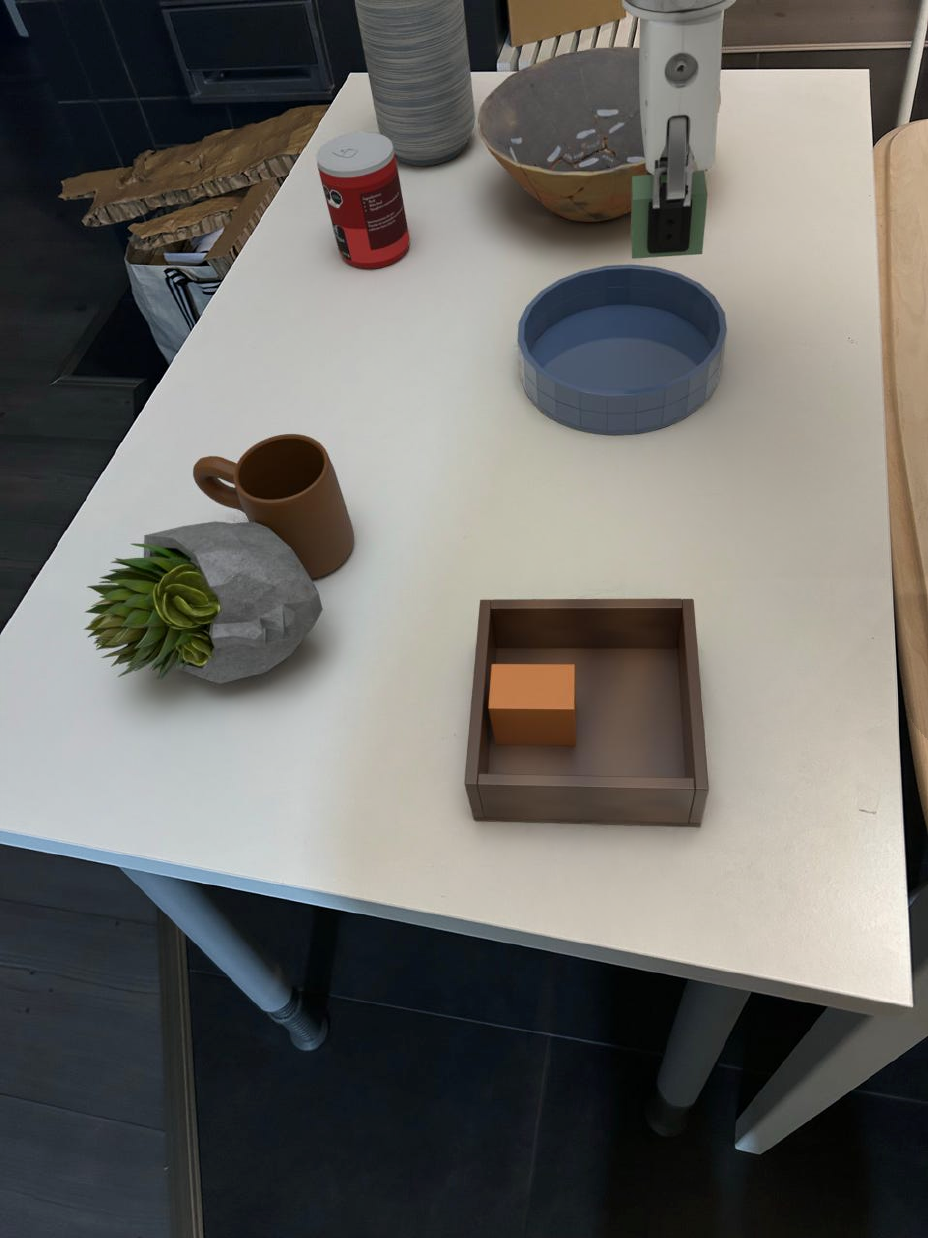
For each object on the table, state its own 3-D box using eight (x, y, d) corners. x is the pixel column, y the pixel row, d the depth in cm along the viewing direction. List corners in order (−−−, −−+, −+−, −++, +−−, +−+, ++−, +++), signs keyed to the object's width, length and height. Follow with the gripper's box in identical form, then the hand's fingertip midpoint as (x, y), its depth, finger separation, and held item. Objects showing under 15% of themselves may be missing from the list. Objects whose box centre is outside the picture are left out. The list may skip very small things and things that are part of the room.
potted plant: (346, 649, 65) (139, 744, 59) (297, 636, 76) (120, 715, 71) (282, 486, 62) (58, 569, 56) (241, 498, 74) (52, 568, 68)
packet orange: (576, 702, 64) (574, 664, 60) (575, 746, 62) (574, 709, 58) (498, 701, 65) (491, 663, 61) (495, 744, 63) (488, 708, 59)
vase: (433, 113, 117) (403, -106, 98) (497, 140, 111) (477, -88, 93) (364, 153, 113) (319, -67, 95) (426, 183, 107) (391, -45, 89)
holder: (687, 644, 67) (693, 598, 62) (700, 827, 59) (709, 790, 54) (487, 643, 69) (479, 599, 64) (473, 821, 61) (464, 784, 56)
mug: (205, 567, 76) (162, 489, 69) (242, 501, 81) (205, 419, 73) (337, 590, 73) (307, 511, 66) (369, 520, 77) (344, 437, 70)
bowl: (583, 116, 112) (582, 26, 104) (758, 175, 101) (772, 79, 93) (438, 214, 103) (425, 124, 95) (611, 290, 92) (613, 195, 84)
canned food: (347, 230, 104) (324, 132, 95) (416, 228, 102) (399, 128, 93) (332, 271, 99) (307, 172, 90) (404, 270, 98) (385, 169, 89)
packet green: (699, 230, 75) (704, 170, 71) (702, 254, 73) (707, 193, 69) (630, 234, 76) (632, 175, 72) (631, 258, 74) (633, 199, 70)
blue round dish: (712, 300, 89) (717, 259, 85) (728, 431, 79) (735, 390, 75) (525, 309, 92) (522, 269, 88) (516, 438, 81) (513, 398, 78)
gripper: (755, 20, 54) (723, 294, 68) (730, -82, 63) (707, 177, 78) (624, 33, 55) (620, 300, 69) (619, -69, 64) (617, 184, 79)
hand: (666, 233), depth 74 cm, fingers closed on packet green, 3 cm apart
